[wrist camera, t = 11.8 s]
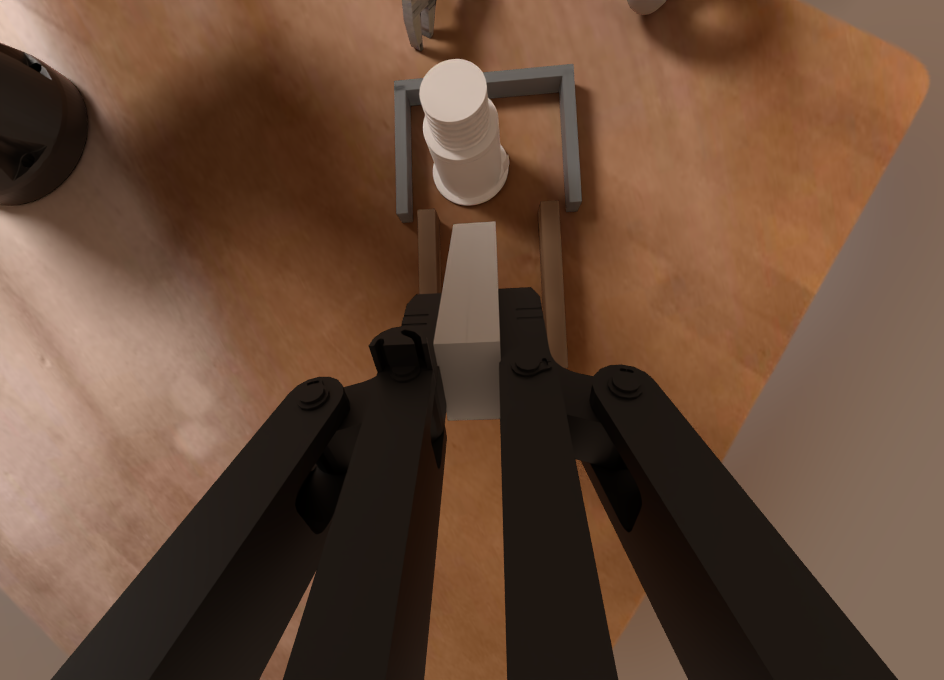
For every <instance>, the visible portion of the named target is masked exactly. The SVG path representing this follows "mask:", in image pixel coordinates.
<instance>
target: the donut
mask: <svg viewBox="0 0 944 680" xmlns="http://www.w3.org/2000/svg"><path fill="white" fill-rule="evenodd" d="M666 1H667V0H627V2H628V4H629V6H630V8H631V9H632V10H633V11H634V12H636V13H638V14H641V15H648V14H651V13H653V12H655V11H656V10H657V9H658V8H660V7H661V6H662V5H663V4H664V3H665V2H666Z"/></svg>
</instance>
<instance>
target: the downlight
mask: <svg viewBox="0 0 944 680" xmlns="http://www.w3.org/2000/svg"><path fill="white" fill-rule="evenodd" d="M419 95H420V101H421V105H422V107H423V110H424V113H425V117H424V121H423V133H424V137H425V140H426V143H427V145H428V148H429V150H430V153H431V156H432V158H433V161H434V165H433V178H434V181H435V184H436V187H437V188H438V190H439V191H440V193H441V194H442V195H443V196H444V197H445V198H446V199H448V200H449V201H451V202H453V203H456V204H459V205H466V206H471V205H477V204H481V203H484V202H486V201H488V200H490V199H491V198H493V197H494V196H495V195H496V194H497V193H498V192H499V191H500V190H501V188H502V187H503V185H504V184H505V181H506V179H507V176H508V166H509V155H506V152H505V150H504V149H503V147H502V146H501V145H500V135H499V121H498V114H497V110H496V108H495V106H494V104H493V103H492V101H491V100H490V99H489V98H488V94H487V85H486V79H485V76H484V74H483V73H482V71H481V70H480V69H479V68H478V67H477V66H476V65H475V64H473V63H472V62H469V61H467V60H463V59H450V60H446V61H443V62H441V63H439V64H437V65H435V66H434V67H433V68H432V69H430V70H429V71H428V73H427V74H426V75H425V77H424V78H423V80H422V83H421V86H420V92H419Z"/></svg>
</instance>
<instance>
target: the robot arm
mask: <svg viewBox="0 0 944 680" xmlns="http://www.w3.org/2000/svg"><path fill="white" fill-rule="evenodd" d="M87 126H88V122H87V112H86V108H85V104H84V101H83V99H82V97H81V95H80V93H79V91H78V90H77V88H76V87H75V86H74V85H73V83H72V82H71V81H70V80H68V79H67V78H66V77H65V76H63V75H62V74H60V73H59V72H57V71H56V70H54V69H53V68H51V67H50V66H48V65H47V64H45V63H44V62H42V61H41V60H39V59H37V58H36V57H34V56H32V55H30V54H27V53H25V52H22V51H20V50H17V49H15V48H12V47H10V46H7V45H5V44H2V43H0V204H2V205H19V204H24V203H28V202H31V201H34V200H37V199H39V198H41V197H43V196H45V195H47V194H48V193H50V192H51V191H53V190H54V189H55V188H56V187H58V186H59V185H60V184H61V183H62V182H63V181H64V180H65V179H66V178H67V177H68V175H69V174H70V173H71V172H72V170H73V169H74V167H75V166H76V164H77V162H78V160H79V158H80V156H81V154H82V151H83V148H84V145H85V141H86V136H87ZM369 348H370V351H371V354H372V357H373V360H374V363H375V366H376V369H377V372H378V373H377V376H376V377H374V378H372V379H370V380H367V381H364V382H361V383H358V384H354V385H351V386H347V387H343V385H342V384H341V383H340V382H339V381H338V380H337V379H334V378H331V377H317V378H313V379H310V380H307V381H305V382H303V383H301V384H300V385H298V386H297V387H295V388H294V389H293V390H292V391H291V392H290V393H289V394H288V395H287V396H286V398H285V399H284V400H283V401H282V402H281V404H280V405H279V406H278V407H277V408H276V410H275V411H274V412H273V413H272V414H271V416H270V417H269V418H268V419H267V420H266V422H265V423H264V424H263V425H262V426H261V428H260V429H259V430H258V431H257V432H256V434H255V435H254V436H253V437H252V438H251V440H250V441H249V442H248V443H247V444H246V446H245V447H244V448H243V449H242V450H241V452H240V453H239V454H238V455H237V456H236V458H235V459H234V460H233V461H232V462H231V464H230V465H229V466H228V467H227V468H226V470H225V471H224V472H223V473H222V474H221V476H220V477H219V478H218V479H217V481H216V482H215V483H214V484H213V485H212V487H211V488H210V489H209V490H208V491H207V493H206V494H205V495H204V496H203V497H202V499H201V500H200V501H199V502H198V503H197V505H196V506H195V507H194V508H193V509H192V511H191V512H190V513H189V514H188V515H187V517H186V518H185V519H184V520H183V521H182V523H181V524H180V525H179V526H178V527H177V529H176V530H175V531H174V532H173V533H172V535H171V536H170V537H169V538H168V539H167V541H166V542H165V543H164V544H163V545H162V547H161V548H160V549H159V550H158V551H157V553H156V554H155V555H154V556H153V557H152V559H151V560H150V561H149V562H148V563H147V565H146V566H145V567H144V568H143V569H142V571H141V572H140V573H139V574H138V575H137V577H136V578H135V579H134V580H133V581H132V583H131V584H130V585H129V586H128V587H127V589H126V590H125V591H124V592H123V594H122V595H121V596H120V597H119V598H118V600H117V601H116V602H115V603H114V604H113V606H112V607H111V608H110V609H109V610H108V612H107V613H106V614H105V615H104V616H103V618H102V619H101V620H100V621H99V622H98V624H97V625H96V626H95V627H94V628H93V630H92V631H91V632H90V633H89V634H88V636H87V637H86V638H85V639H84V640H83V642H82V643H81V644H80V645H79V646H78V648H77V649H76V650H75V651H74V652H73V654H72V655H71V656H70V657H69V658H68V660H67V661H66V662H65V663H64V664H63V666H62V667H61V668H60V669H59V670H58V672H57V673H56V674H55V675H54V676H53V678H52V679H51V680H259V679H260V677H261V675H262V673H263V671H264V669H265V667H266V665H267V663H268V662H269V660H270V658H271V656H272V654H273V652H274V650H275V648H276V646H277V644H278V642H279V641H280V639H281V637H282V635H283V633H284V631H285V629H286V627H287V625H288V623H289V621H290V619H291V618H292V616H293V614H294V612H295V610H296V608H297V606H298V604H299V602H300V600H301V598H302V597H303V595H304V593H305V591H306V589H307V587H308V585H309V583H310V581H311V579H312V577H313V576H314V574H315V572H316V574H315V577H314V580H313V583H312V587H311V590H310V593H309V596H308V600H307V603H306V606H305V609H304V613H303V616H302V619H301V622H300V626H299V629H298V632H297V635H296V639H295V642H294V645H293V648H292V652H291V655H290V658H289V661H288V665H287V668H286V671H285V674H284V678H283V680H424V675H425V665H426V654H427V643H428V633H429V622H430V612H431V601H432V590H433V580H434V569H435V559H436V548H437V538H438V527H439V516H440V506H441V495H442V485H443V474H444V464H445V453H446V442H447V435H446V429H445V416H446V412H447V418H448V420H484V419H500V430H501V467H502V504H503V541H504V578H505V615H506V652H507V680H618V676H617V671H616V666H615V661H614V656H613V650H612V645H611V640H610V635H609V630H608V625H607V620H606V614H605V609H604V604H603V599H602V594H601V589H600V584H599V579H598V573H597V568H596V563H595V558H594V553H593V548H592V543H591V537H590V532H589V527H588V522H587V517H586V512H585V507H584V502H583V496H582V491H581V486H580V481H579V476H578V471H577V466H576V461H575V459H577V460H581V461H582V464H583V466H584V468H585V470H586V472H587V474H588V476H589V478H590V480H591V482H592V484H593V486H594V488H595V490H596V492H597V494H598V497H599V499H600V501H601V503H602V505H603V507H604V509H605V511H606V513H607V515H608V517H609V519H610V521H611V523H612V525H613V527H614V529H615V531H616V533H617V535H618V537H619V539H620V541H621V543H622V545H623V547H624V550H625V552H626V554H627V556H628V558H629V560H630V562H631V564H632V566H633V568H634V570H635V572H636V574H637V576H638V578H639V580H640V582H641V584H642V586H643V588H644V590H645V592H646V594H647V596H648V598H649V600H650V602H651V605H652V607H653V609H654V611H655V613H656V615H657V617H658V619H659V621H660V623H661V625H662V627H663V629H664V631H665V633H666V635H667V637H668V639H669V641H670V643H671V645H672V647H673V649H674V651H675V653H676V655H677V657H678V659H679V662H680V664H681V665H682V667H683V670H684V672H685V674H686V676H687V678H688V680H898V679H897V678H896V676H895V675H894V674H893V673H892V672H891V671H890V669H889V668H888V667H887V665H886V664H885V663H884V662H883V661H882V659H881V658H880V657H879V656H878V654H877V653H876V652H875V651H874V650H873V648H872V647H871V646H870V645H869V644H868V642H867V641H866V640H865V638H864V637H863V636H862V635H861V634H860V632H859V631H858V630H857V629H856V627H855V626H854V625H853V624H852V622H851V621H850V620H849V619H848V618H847V616H846V615H845V614H844V613H843V611H842V610H841V609H840V608H839V607H838V605H837V604H836V603H835V602H834V600H833V599H832V598H831V597H830V595H829V594H828V593H827V592H826V591H825V589H824V588H823V587H822V586H821V584H820V583H819V582H818V581H817V579H816V578H815V577H814V576H813V575H812V573H811V572H810V571H809V570H808V568H807V567H806V566H805V565H804V564H803V562H802V561H801V560H800V559H799V557H798V556H797V555H796V554H795V552H794V551H793V550H792V549H791V548H790V546H789V545H788V544H787V543H786V542H785V540H784V539H783V538H782V537H781V535H780V534H779V533H778V532H777V530H776V529H775V528H774V527H773V525H772V524H771V523H770V522H769V521H768V519H767V518H766V517H765V516H764V514H763V513H762V512H761V511H760V510H759V508H758V507H757V506H756V505H755V503H754V502H753V501H752V500H751V499H750V497H749V496H748V495H747V493H746V492H745V491H744V490H743V489H742V487H741V486H740V485H739V484H738V482H737V481H736V480H735V479H734V478H733V476H732V475H731V474H730V473H729V471H728V470H727V469H726V468H725V467H724V465H723V464H722V463H721V462H720V460H719V459H718V458H717V457H716V455H715V454H714V453H713V452H712V451H711V449H710V448H709V447H708V446H707V444H706V443H705V442H704V441H703V439H702V438H701V437H700V436H699V435H698V433H697V432H696V431H695V430H694V428H693V427H692V426H691V425H690V424H689V422H688V421H687V420H686V419H685V417H684V416H683V415H682V414H681V412H680V411H679V410H678V409H677V408H676V406H675V405H674V404H673V403H672V401H671V400H670V399H669V398H668V396H667V395H666V394H665V393H664V392H663V390H662V389H661V388H660V387H659V385H658V384H657V383H656V382H655V381H654V379H652V378H651V377H650V376H649V375H648V374H647V373H646V372H644V371H641V370H639V369H637V368H635V367H632V366H626V365H609V366H607V367H604V368H602V369H600V370H599V371H598V372H597V373H596V374H595V375H594V376H589V375H584V374H579V373H576V372H572V371H569V370H567V369H565V368H563V367H562V366H560V365H559V364H558V363H557V362H556V361H555V360H554V358H553V357H552V355H551V353H550V349H549V344H548V338H547V333H546V327H545V322H544V319H543V311H542V306H541V301H540V296H539V295H538V294H537V293H536V292H535V291H534V290H533V289H532V288H531V287H525V288H506V289H498V268H497V245H496V223H495V222H480V223H465V224H453V230H452V236H451V242H450V248H449V254H448V260H447V266H446V271H445V277H444V283H443V289H442V293H432V294H416V295H415V296H414V297H413V298H412V300H411V301H410V302H409V303H408V304H407V306H406V310H405V313H404V317H403V320H402V326H401V327H396V328H391V329H389V330H386V331H384V332H382V333H380V334H379V335H378V336H376V337H375V338H374V339H373V340H372V342H371V343H370V345H369Z"/></svg>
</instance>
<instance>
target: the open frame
mask: <svg viewBox="0 0 944 680" xmlns="http://www.w3.org/2000/svg"><path fill="white" fill-rule="evenodd" d="M483 74H484V76H485V79H486V85H487V94H488V98H489V99H490V98H502V97H513V96H524V95H535V94H546V93H557V92H559V99H560V117H561V134H562V151H563V169H564V186H565V203H566V212H574V211H578V209H579V206H580V204H581V202H582V196H581V179H580V163H579V147H578V131H577V114H576V98H575V82H574V66H573V64H567V65H557V66H546V67H536V68H525V69H515V70H504V71H494V72H483ZM422 80H423V78H420V79H409V80H399V81H394V95H395V158H396V214H397V215H398V217H399V218H400V220H401V221H402V223H406V222H413V201H412V150H411V106H412V105H421V101H420V95H419V92H420V86H421V83H422Z"/></svg>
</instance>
